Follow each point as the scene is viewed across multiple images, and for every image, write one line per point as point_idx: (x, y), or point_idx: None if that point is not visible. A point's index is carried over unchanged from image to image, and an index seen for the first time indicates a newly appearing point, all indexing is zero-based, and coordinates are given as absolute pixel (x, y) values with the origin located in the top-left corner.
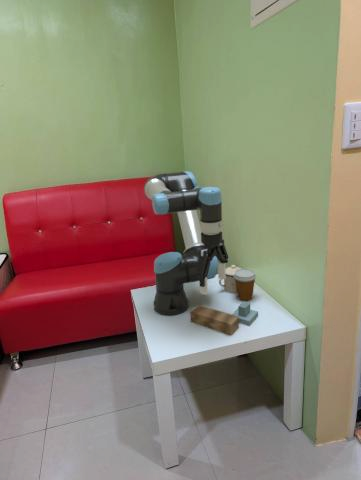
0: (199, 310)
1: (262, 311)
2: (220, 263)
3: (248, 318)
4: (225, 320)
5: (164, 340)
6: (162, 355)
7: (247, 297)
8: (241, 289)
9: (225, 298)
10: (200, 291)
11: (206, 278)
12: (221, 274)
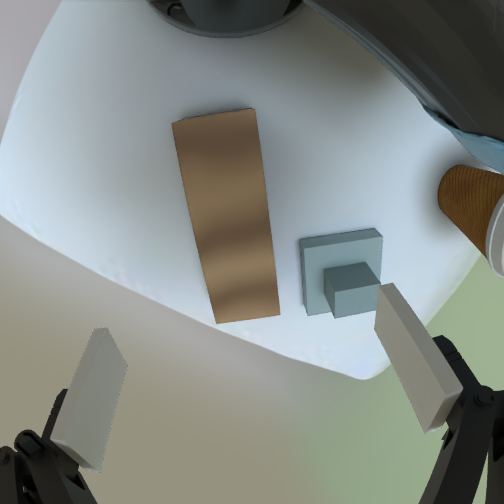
0: (212, 153)
1: (401, 286)
2: (436, 411)
3: (321, 305)
4: (224, 296)
5: (37, 146)
6: (3, 205)
7: (450, 219)
8: (464, 216)
9: (427, 128)
10: (91, 341)
11: (93, 467)
12: (391, 333)
